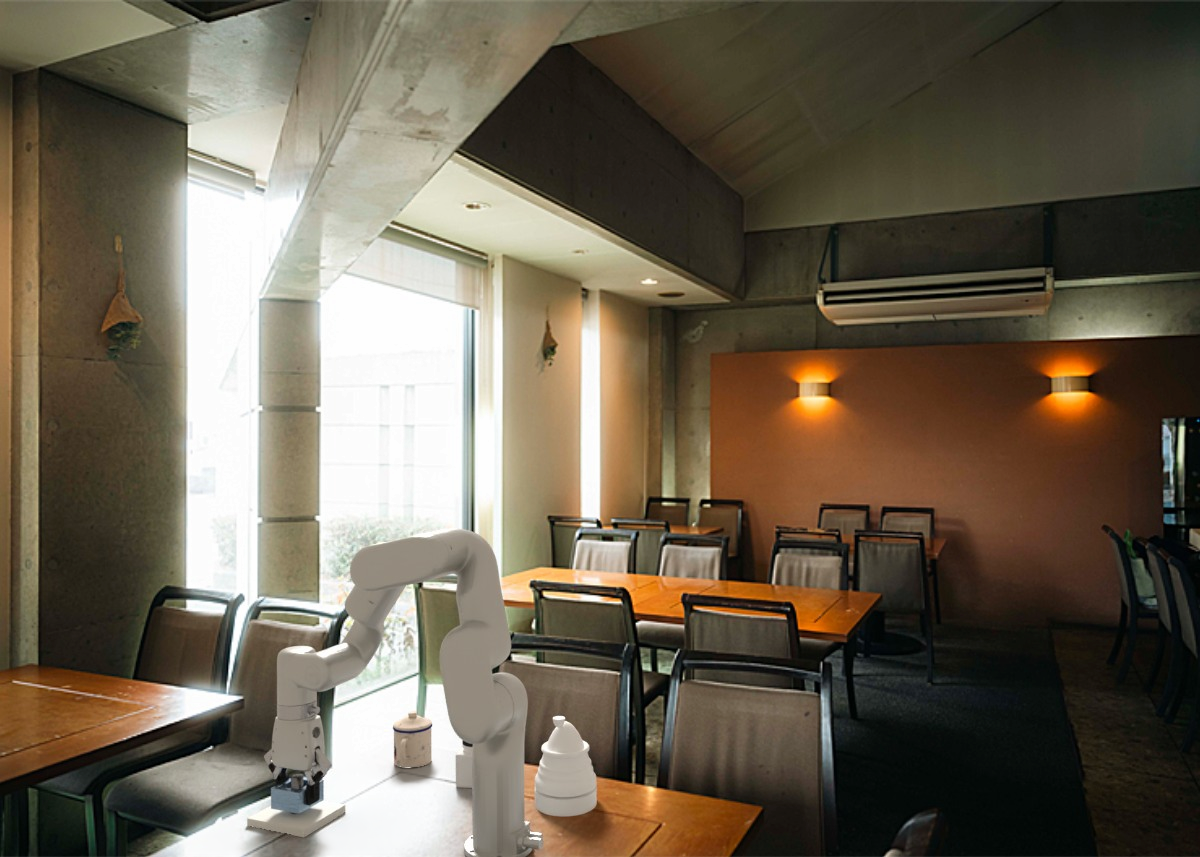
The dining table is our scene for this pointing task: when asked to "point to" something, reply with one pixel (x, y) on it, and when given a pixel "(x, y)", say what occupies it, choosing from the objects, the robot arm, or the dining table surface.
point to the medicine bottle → (464, 766)
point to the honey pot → (565, 774)
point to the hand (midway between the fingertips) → (297, 799)
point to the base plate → (297, 819)
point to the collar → (292, 797)
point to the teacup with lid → (412, 741)
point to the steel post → (296, 782)
